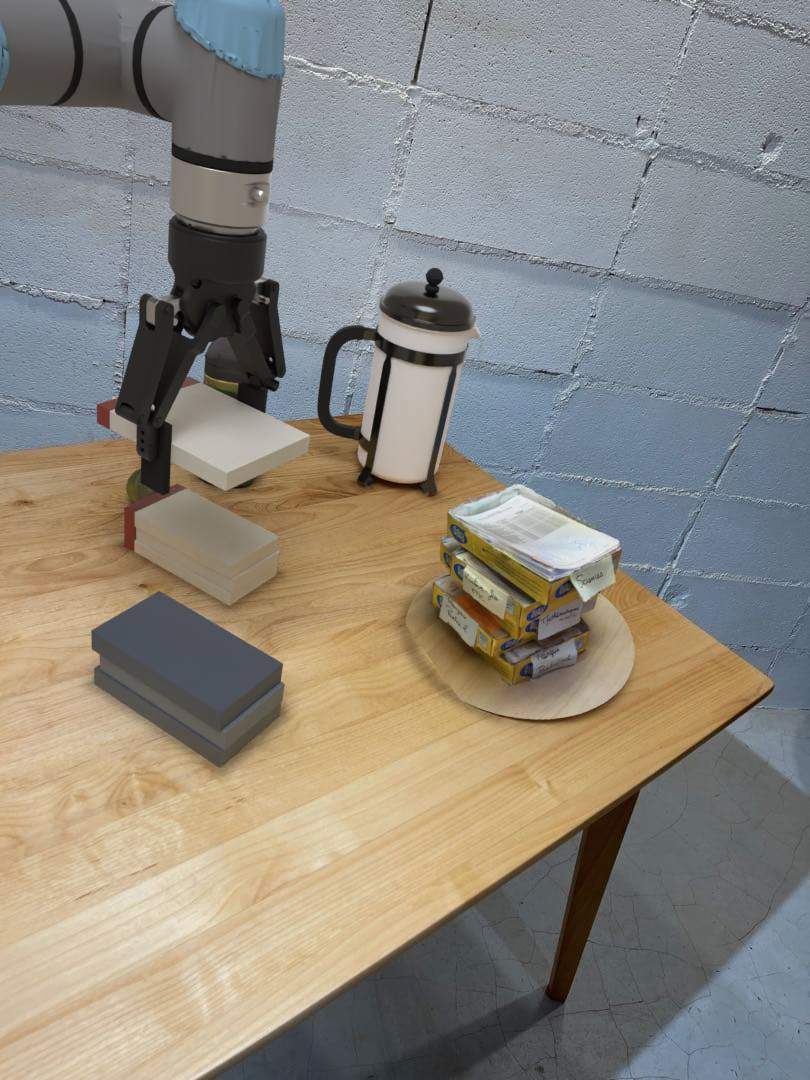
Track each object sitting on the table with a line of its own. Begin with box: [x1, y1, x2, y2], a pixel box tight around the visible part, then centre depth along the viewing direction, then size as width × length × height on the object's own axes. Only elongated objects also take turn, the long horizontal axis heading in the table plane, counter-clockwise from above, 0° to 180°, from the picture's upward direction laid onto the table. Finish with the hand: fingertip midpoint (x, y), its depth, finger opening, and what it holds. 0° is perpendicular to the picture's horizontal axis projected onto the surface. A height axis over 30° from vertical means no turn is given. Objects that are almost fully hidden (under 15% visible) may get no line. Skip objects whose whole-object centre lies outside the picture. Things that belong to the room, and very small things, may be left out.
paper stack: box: [405, 483, 636, 720], centre depth 86 cm, size 25×25×17 cm
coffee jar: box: [200, 337, 256, 488], centre depth 106 cm, size 10×8×19 cm
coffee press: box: [316, 267, 483, 497], centre depth 110 cm, size 17×16×30 cm
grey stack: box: [90, 590, 286, 769], centre depth 73 cm, size 15×8×7 cm, turn 59°
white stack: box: [123, 483, 281, 606], centre depth 91 cm, size 16×8×5 cm, turn 59°
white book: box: [96, 376, 311, 492], centre depth 73 cm, size 15×11×2 cm
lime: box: [125, 468, 157, 504], centre depth 99 cm, size 4×5×5 cm
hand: (203, 467), depth 75 cm, fingers closed on white book, 11 cm apart
